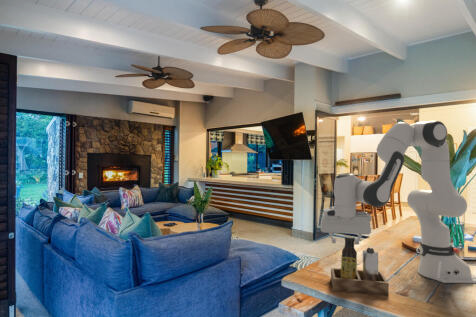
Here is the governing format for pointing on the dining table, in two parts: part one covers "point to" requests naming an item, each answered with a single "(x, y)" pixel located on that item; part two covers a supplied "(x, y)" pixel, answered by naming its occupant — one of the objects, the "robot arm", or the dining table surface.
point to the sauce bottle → (349, 259)
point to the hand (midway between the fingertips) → (345, 243)
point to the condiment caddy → (359, 283)
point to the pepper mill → (370, 264)
